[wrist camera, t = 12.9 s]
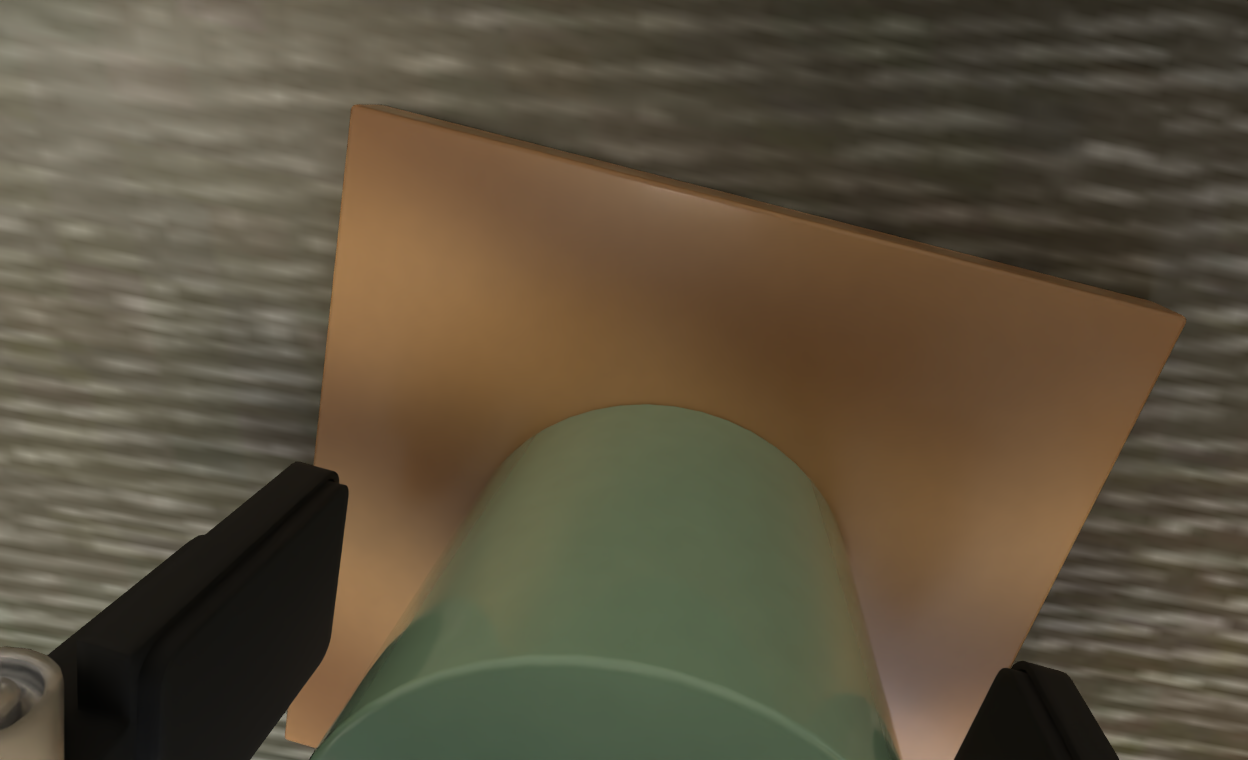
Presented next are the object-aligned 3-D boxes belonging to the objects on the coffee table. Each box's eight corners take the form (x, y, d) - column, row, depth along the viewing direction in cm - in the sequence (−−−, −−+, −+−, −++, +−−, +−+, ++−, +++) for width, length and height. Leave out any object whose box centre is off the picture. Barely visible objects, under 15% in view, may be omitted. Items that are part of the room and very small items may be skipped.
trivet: (378, 103, 12) (349, 103, 11) (1153, 301, 12) (1191, 318, 11) (308, 704, 16) (282, 740, 15) (877, 866, 16) (887, 915, 15)
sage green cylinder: (499, 355, 12) (302, 571, 6) (907, 464, 12) (1070, 786, 6) (439, 679, 14) (253, 1050, 9) (782, 776, 14) (818, 1222, 8)
